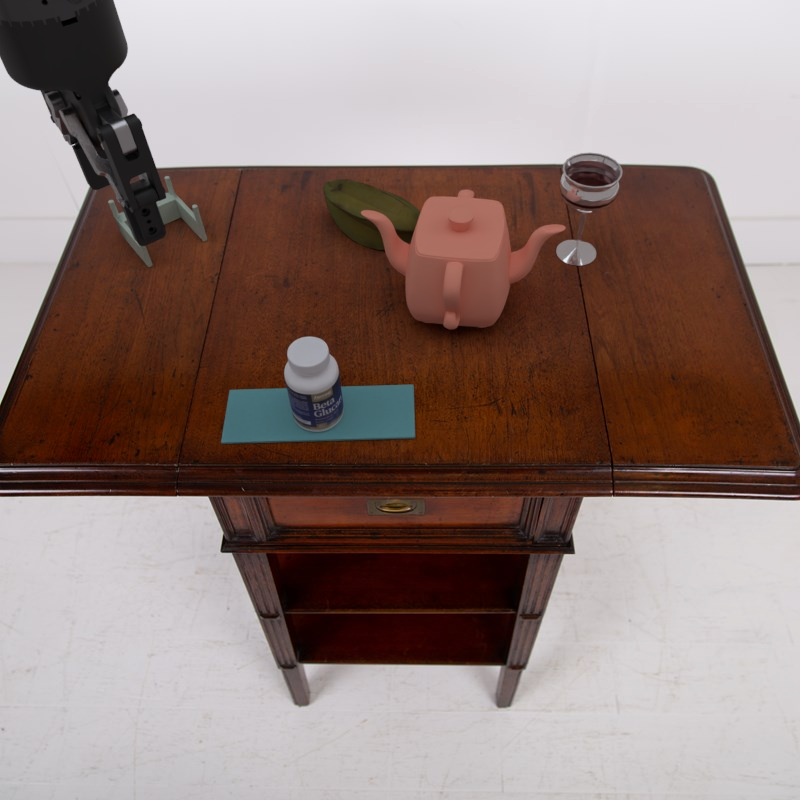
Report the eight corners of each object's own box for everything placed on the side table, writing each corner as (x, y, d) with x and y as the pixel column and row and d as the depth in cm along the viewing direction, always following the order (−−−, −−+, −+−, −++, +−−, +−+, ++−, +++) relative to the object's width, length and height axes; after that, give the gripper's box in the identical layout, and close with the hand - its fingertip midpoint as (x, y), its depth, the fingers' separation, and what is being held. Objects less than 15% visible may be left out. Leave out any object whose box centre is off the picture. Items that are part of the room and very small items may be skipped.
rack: (208, 240, 98) (198, 206, 94) (148, 268, 95) (135, 234, 91) (178, 208, 103) (167, 174, 98) (120, 234, 100) (106, 200, 95)
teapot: (366, 290, 91) (358, 204, 82) (476, 238, 97) (481, 152, 87) (438, 367, 84) (439, 282, 74) (553, 306, 89) (568, 219, 79)
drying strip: (221, 444, 78) (220, 442, 78) (230, 391, 82) (229, 389, 82) (415, 438, 78) (415, 437, 77) (413, 386, 82) (413, 384, 82)
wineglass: (591, 230, 97) (608, 148, 88) (612, 264, 93) (633, 182, 84) (540, 240, 96) (553, 157, 87) (560, 275, 92) (575, 192, 83)
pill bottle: (321, 442, 77) (309, 381, 70) (282, 417, 79) (267, 355, 72) (355, 408, 80) (347, 346, 72) (316, 385, 82) (305, 322, 74)
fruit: (339, 268, 94) (333, 226, 89) (324, 210, 101) (318, 167, 96) (428, 253, 95) (428, 210, 90) (407, 196, 103) (406, 154, 97)
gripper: (-60, -35, 47) (45, 186, 59) (20, 53, 39) (120, 283, 52) (56, -68, 49) (133, 150, 62) (152, 9, 42) (216, 238, 55)
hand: (127, 211), depth 57 cm, fingers open, 8 cm apart
